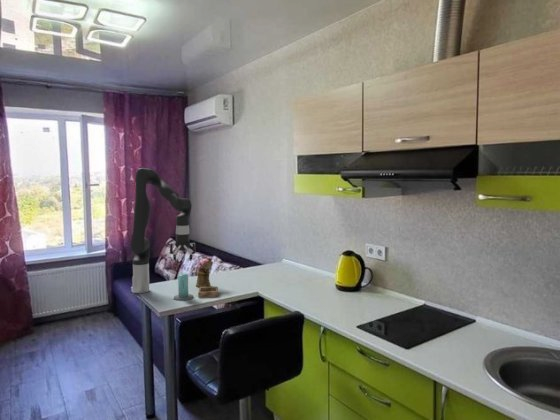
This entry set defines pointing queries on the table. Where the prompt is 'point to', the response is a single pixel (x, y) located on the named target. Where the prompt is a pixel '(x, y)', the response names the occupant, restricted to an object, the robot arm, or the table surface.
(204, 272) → the brown figurine
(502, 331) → the table surface
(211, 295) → the stand
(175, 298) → the disc
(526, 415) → the table surface
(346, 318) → the table surface
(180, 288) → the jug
